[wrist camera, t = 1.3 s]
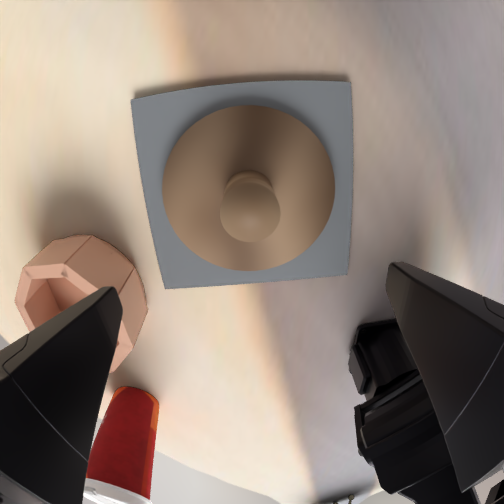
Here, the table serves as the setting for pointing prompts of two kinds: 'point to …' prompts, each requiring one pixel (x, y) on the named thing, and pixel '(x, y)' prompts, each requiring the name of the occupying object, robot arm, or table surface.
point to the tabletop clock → (348, 498)
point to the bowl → (81, 285)
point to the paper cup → (124, 450)
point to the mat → (236, 94)
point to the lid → (248, 188)
